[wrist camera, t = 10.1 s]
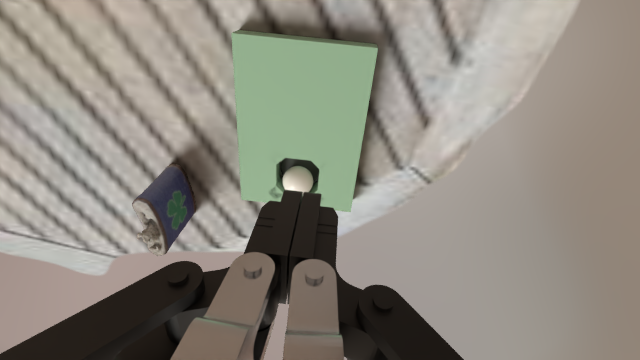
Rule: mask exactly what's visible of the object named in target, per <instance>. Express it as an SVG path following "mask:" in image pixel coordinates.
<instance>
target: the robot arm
mask: <svg viewBox="0 0 640 360" xmlns="http://www.w3.org/2000/svg"><path fill="white" fill-rule="evenodd" d="M321 195H322V194H319V193H311V192H304V193H303V192H301V191H292V190H284V192H283V195H282V199H281V202H279V201H269V202H268V203H267V204H265V205H264V206H263V207H262V208H261V211H260V213H259V216H258V219H257V221H256V224H255V226H254V229H253V231H252V234H251V237H250V239H249V242H248V244H247V247H246V249H245V252H244V254H243V255H241V256H239V257H238V258H237V259H236V260H235V261H234V262H233V263H232V264H231V266H230V267H228V268H225V269H221V270H215V271H208V272H203V271H202V269H201V267H200V266H199V265H198V264H196V263H193V262H189V261H180V262H175V263H172V264H170V265H168V266H166V267H164V268H162V269H160V270H158V271H156V272H154V273H152V274H150V275H149V276H147V277H145V278H143V279H141V280H139V281H137V282H135V283H134V284H131V285H130V286H128V287H126V288H124V289H122V290H120V291H118V292H116V293H114V294H113V295H111V296H109V297H107V298H105V299H103V300H101V301H99V302H97V303H96V304H94V305H92V306H90V307H88V308H86V309H85V310H82V311H80V312H79V313H77V314H75V315H73V316H71V317H69V318H67V319H65V320H63V321H62V322H60V323H58V324H56V325H54V326H52V327H50V328H48V329H47V330H44V331H43V332H41V333H39V334H37V335H35V336H33V337H31V338H30V339H28V340H26V341H24V342H22V343H20V344H18V345H17V346H14V347H12V348H10V349H9V350H7V351H5V352H3V353H1V354H0V360H263V359H264V356H265V352H266V349H267V346H268V343H269V339H270V336H271V333H272V329H273V326H274V319H275V316H276V313H277V308H278V304H279V303H283V304H286V299H287V294H288V304H289V310H288V320H287V329H286V333H285V343H284V352H283V360H344V357H346V358H347V360H464V359H463V358H462V357H461V356H460V355H458V353H457V352H455V350H454V349H453V348H452V347H451V346H450V345H449V344H448V343H447V342H446V341H445V340H444V339H443V338H442V337H441V336H440V335H439V334H438V333H437V332H436V331H435V330H434V329H433V328H432V327H431V326H430V325H429V324H428V323H427V322H426V321H425V320H424V319H423V318H422V317H421V316H420V315H419V314H418V313H417V312H416V311H415V310H414V309H413V308H412V307H411V306H410V305H409V304H408V303H407V302H406V301H405V300H404V299H403V298H402V297H401V296H400V295H399V294H398V293H397V292H396V291H394V290H393V289H391V288H389V287H387V286H383V285H372V286H369V287H366V288H365V289H364V290H362V289H359V288H357V287H354V286H352V285H350V284H348V283H347V282H345V281H344V280H343V279H342V278H341V277H340V276H339V274H338V272H337V270H336V247H337V226H338V215H337V214H336V212H335V210H334V208H332V207H323V206H320V205H321Z"/></svg>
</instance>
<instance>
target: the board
mask: <svg viewBox="0 0 640 360" xmlns="http://www.w3.org/2000/svg"><path fill="white" fill-rule="evenodd" d="M232 49H233V66H234V82H235V99H236V115H237V132H238V149H239V165H240V182H241V198H242V200H250V201H258V202H267V203H268V202H269V201H279V202H281V199H282V195H283V192H284V190H285V188H284V186H283V179H282V178H281V177H280V161H282V162H281V172H282V174H283V176H284V174H285V172H286V171H287V170H288V169H290V168H291V167H294V166H302V167H305V168H306V169H308V170H309V171H310V173H311V174H312V177H313V181H314V180H315V179H316V177H317V175H318V172H319V179H318V182H316V183H315V184H313V186H312V188H311V190H310V191H309V192H311V193H319V194H322V195H321V205H320V206H323V207H332V208H334V210H337V211H346V212H351V206H352V200H353V194H354V188H355V182H356V176H357V170H358V164H359V158H360V152H361V146H362V141H363V135H364V129H365V123H366V117H367V111H368V105H369V99H370V93H371V87H372V81H373V75H374V69H375V63H376V57H377V51H378V47H377V44H372V43H362V42H352V41H342V40H332V39H323V38H313V37H303V36H293V35H283V34H273V33H264V32H254V31H244V30H238V31H235V32H233V33H232Z"/></svg>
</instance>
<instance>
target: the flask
mask: <svg viewBox="0 0 640 360" xmlns="http://www.w3.org/2000/svg"><path fill="white" fill-rule="evenodd" d="M175 165H176V166H175ZM132 206H133V209H134V211H135V212H136V214H137V216H138V217H139V219H140V221H141V223H142V226H143V228H144V230H143V231H142V233H138V234H137V239H138V240H139V237H142V238H143V241H144V242H145V243H146V244H147V243H148V245H147V247H148V249H149V251H150V252H152V253H153V254H155V255H157V256H158V255H160V256H162V255H164V254H166V253H167V251H168V250H169V248H170V247H171V245H172V244H173V242H174V241H175V240H176V238H177V237H178V235H179V234H180V232H181V231H182V230H183V228H184V227H185V226H186V224H187V223H188V221H189V220H190V218H191V217H192V216H193V214H194V213H195V210H196V205H195V198H194V194H193V191H192V188H191V185H190V182H189V180H188V177H187V175H186V173H185V171H184V170H183V169H182V167H181V166H179V165H177V164H174V165H173V164H171V165H169V166H168V167H167V168H166V169H165V170H164V171H163V172H162V173H161V174H160V175H159V176H158V177H157V178H156V179H155V180H154V182H153V183H152V184H151V185H150V186H149V187H148V188H147V189H146V190H145V191H144V192H143V193H142V194H141V195H139V196H138V197H137V198H136V199H135V200H134V202H133V203H132Z"/></svg>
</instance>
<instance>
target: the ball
mask: <svg viewBox="0 0 640 360" xmlns="http://www.w3.org/2000/svg"><path fill="white" fill-rule="evenodd" d="M283 186H284V188H285V190H292V191H301V192H303V193H304V192H309V191H310V190H311V188H312V186H313V177H312V174H311V173H310V171H309V170H308V169H306V168H305V167H302V166H294V167H291V168H290V169H288V170H287V171H286V172H285V174H284V176H283Z"/></svg>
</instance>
